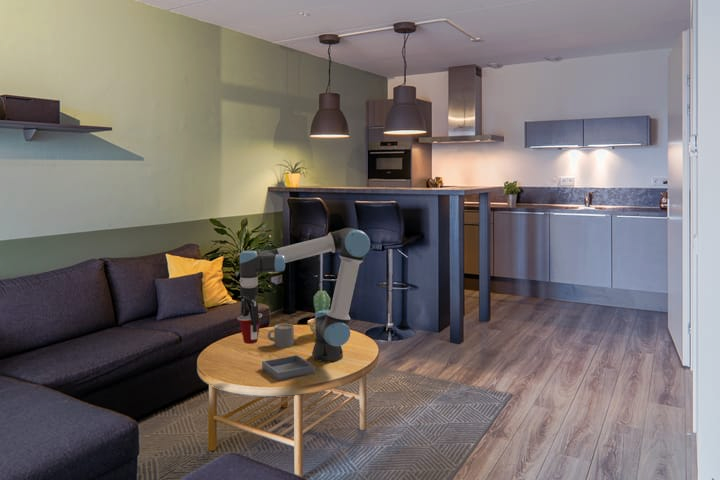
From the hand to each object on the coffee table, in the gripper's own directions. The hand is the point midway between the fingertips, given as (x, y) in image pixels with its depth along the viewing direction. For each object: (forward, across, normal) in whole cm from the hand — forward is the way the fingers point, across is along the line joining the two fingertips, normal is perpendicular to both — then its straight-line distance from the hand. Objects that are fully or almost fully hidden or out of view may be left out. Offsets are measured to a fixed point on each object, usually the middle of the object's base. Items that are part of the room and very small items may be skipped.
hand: (250, 336), depth 244 cm
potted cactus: (+18, -37, +56) cm, 69 cm away
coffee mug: (+18, -33, +30) cm, 48 cm away
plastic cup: (+3, 0, 0) cm, 3 cm away
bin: (+17, +5, +16) cm, 24 cm away
